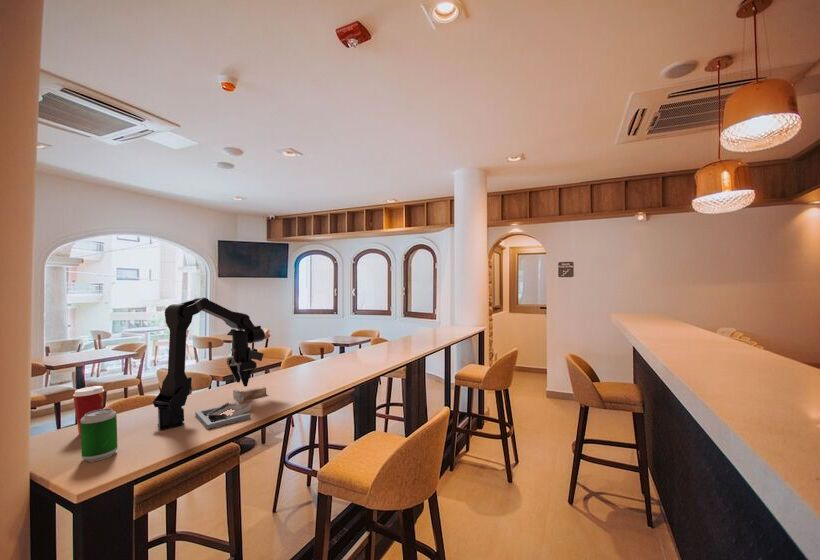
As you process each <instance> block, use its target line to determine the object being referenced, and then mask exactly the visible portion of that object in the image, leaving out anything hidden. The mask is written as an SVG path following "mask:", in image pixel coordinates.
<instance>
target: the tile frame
mask: <svg viewBox="0 0 820 560" xmlns="http://www.w3.org/2000/svg"><path fill="white" fill-rule="evenodd" d="M230 403H231V402H230ZM231 404H234V405H235V406H236V405H237V404H236V403H235V402H232V403H231ZM221 406H222V405H219V406H215V407H211V408H205V409H202V410H197V411H194V412H195V413H194V415H196V416H195V417H196V419H198V420H199V422H200V421H201V422H202V423H203V424H204V425H205V426H204V425H203V424H202V423H201V422H200V423H201V424H202V425H203V426H204V427H205V428H206V429H207V430H208V429H209V430H211V429H210V428H212V429H215V428H214V427H216V428H219V427H218V426H220V427H223V426H222V425H224V426H226V425H225V424H228V425H230V424H229V423H232V424H234V423H233V422H236V423H238V422H237V421H239V422H242V421H246V420H250V419H251V413H250V412H248V413H247V412H246V413H244V414H242V415H239V416H235V417H231V418H227V419H223V420H219V421H215V422H214V421H210V420H209V418H208V416H207V415H204V414H208V413H210V412H212V411H213V410H215V409H217V408H219V407H221Z"/></svg>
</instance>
